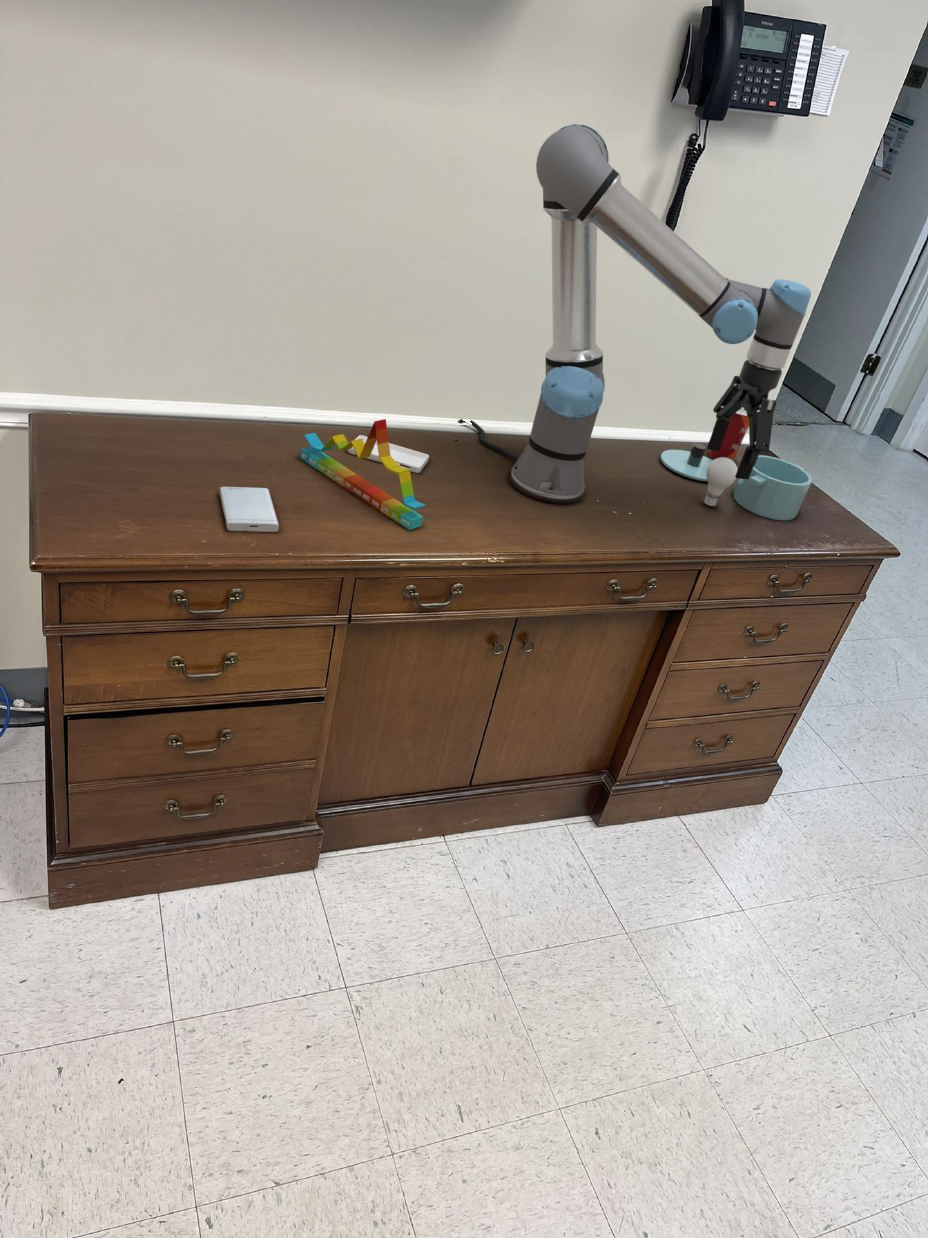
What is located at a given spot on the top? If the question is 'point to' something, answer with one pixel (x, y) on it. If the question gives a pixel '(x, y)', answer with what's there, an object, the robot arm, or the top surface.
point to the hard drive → (248, 509)
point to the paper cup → (733, 436)
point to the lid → (688, 462)
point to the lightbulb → (719, 478)
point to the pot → (773, 488)
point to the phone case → (399, 456)
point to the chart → (359, 484)
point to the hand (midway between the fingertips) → (726, 463)
